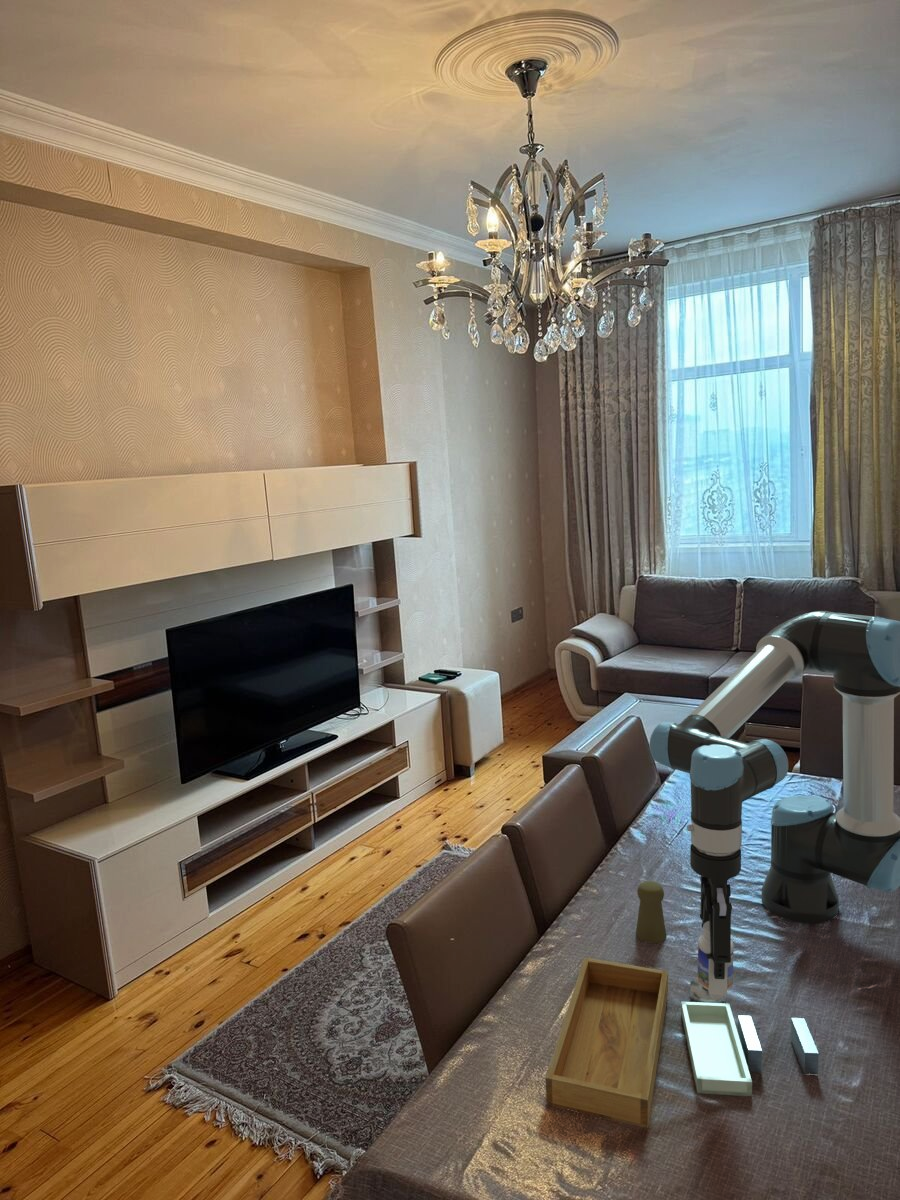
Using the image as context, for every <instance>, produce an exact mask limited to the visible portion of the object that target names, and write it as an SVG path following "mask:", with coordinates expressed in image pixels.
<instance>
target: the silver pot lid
mask: <svg viewBox="0 0 900 1200" xmlns="http://www.w3.org/2000/svg"><path fill="white" fill-rule="evenodd" d="M689 998H690V999H691V1002H702V1003H725V1002H726V995H709V992H708V990H707V989H705V988H704V987H702V986H701V985H700V983H699V981H698V976H697V977H695V978H693V979H692V980H690V983H689Z"/></svg>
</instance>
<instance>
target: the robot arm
mask: <svg viewBox="0 0 900 1200" xmlns="http://www.w3.org/2000/svg"><path fill="white" fill-rule="evenodd" d="M755 649H756V650H755V652H754V653H753V654H752V655H751V656H750V657H748V658H747V659H746V661H744V663H742V665H740V666H739V667H738V668H737V669H736V670H735V671H734V672H733V673H732V674H731V675H730V676H729V677H728V678H727V679H725V680H724V681H723V682H722V683H721V684H720V685H719V686H718V687H717V688H716V689H715V690H714V691H713V692H712V693H710V695H709V696H708V697H706V699H705V700H703V701H702V702H701V703H700V704H699V705H698V706H697V707H696V708H695V709H694V710H692V712H691V713H689V714H688V715H687V717H686V718H684V719H683V720H682V721H681V722H680V723H678V724H677V723H676V722H674V721H673V722H668V721H667V722H666V721H664V722H661V723H659V724H658V725H656V726H655V728H654V729H653V731H652V733H651V736H650V737H649V738H650V739H649V745H648V747H649V751H650V755H651V758H652V759H653V761H655V762H656V763H658V764H660V765H663V766H664V767H667V768H670V769H671V770H673V771H674V770H675V771H680V772H683V773H687V774H689V780H690V808H691V809H690V823H691V824H687V825H686V830H687V831H688V832H690V842H691V844H690V849H689V850H690V851H689V852H690V855H689V857H690V858H689V859H690V860H689V861H690V863H689V864H690V867H691V869H692V870H693V872H694V873H696V874H698V876H699V877H700V879H699V880H700V910H699V911H700V913H699V918H700V921H701V920H702V923H701V928H702V929H703V925H704V923H705V922H707V921H709V925H710V951H711V952H710V954H709V953H706V959H709V985H708V992H709V995H725V996H728V990H727V971H728V963H730V962H731V940H732V938H731V936H732V934H731V931H732V925H731V924H732V910H733V906H732V902H730V897H731V893H732V892H731V891H732V889H731V884H729V883H728V881H729V880H730V879H733V878H735V877H737V876H738V875H739V874H740V873H741V870H742V850H741V847H742V845H743V843H742V842H743V841H742V840H743V839H742V838H743V821H742V814H743V813H742V810H743V802H746V801H748V800H749V799H751V798H753V797H755V796H756V795H759V794H760V793H763V792H765V791H767V790H771V789H773V788H774V786H776V785H778V783H780V782H782V781H783V780H784V779H785V778H786V777H787V774H788V773H789V771H788V770H789V759H788V756H787V754H786V752H785V751H784V749H783V748H782V747H781V746H780V745H779V744H778V743H777V742H775V741H773V740H770V739H767V738H762V739H755V740H751V741H749V742H745V741H741V740H736V739H733V738H731V737H732V736H733V735H734V734H735V733H736V732H737V730H739V729H740V728H741V726H743V724H745V722H747V721H748V720H749V719H750V718H751V717H752V715H754V714H755V712H757V711H758V709H760V708H761V706H762V705H763V704H765V703H766V702H767V700H769V698H770V697H772V695H774V694H775V693H776V692H777V690H779V689H780V688H781V687H782V685H784V683H785V682H787V680H794V679H797V678H798V677H799V676H801V674H802V673H804V672H808V671H816V672H822V673H827V674H831V675H833V688H834V690H835V691H836V692H838V693H839V694H840V695H841V696H842V751H843V752H842V753H843V754H842V756H843V757H842V759H843V761H842V762H843V763H842V764H843V765H842V766H843V768H842V769H843V770H842V773H843V774H842V775H843V777H842V778H843V779H842V780H843V782H842V783H843V785H842V786H843V807H842V808H840V809H839V810H838V811H836V812H834V811H835V807H834V805H833V803H832V802H831V801H829V800H828V798H827V799H826V798H824V797H820V796H815V795H791V796H786V797H785V798H781V799H779V800H778V801H776V802H775V804H773V806H772V810H771V819H770V824H771V825H770V827H771V828H770V829H771V830H770V832H771V833H770V834H771V836H770V867H769V870H768V872H767V874H766V877H765V879H764V882H763V884H762V887H761V895H760V896H761V903H762V904H763V907H765V909H767V911H768V912H771V913H772V914H773V915H775V916H777V917H779V918H782V919H784V920H788V921H791V922H795V923H802V924H820V923H821V924H822V922H823V923H826V922H825V921H827V922H829V921H828V920H830V919H832V918H833V919H835V918H836V917H837V916H838V914H839V912H838V911H840V910H839V909H840V898H839V895H838V892H837V890H836V886H835V884H834V880H833V876H832V874H833V875H835V876H838V877H841V878H843V879H845V880H846V879H847V880H849V881H852V882H855V883H858V884H860V885H863V886H865V887H866V888H868V889H873V890H876V891H880V892H883V893H891V892H895V891H896V890H897V889H898V888H899V887H900V816H898V815H897V814H896V813H895V812H894V771H895V770H894V769H895V768H894V765H895V764H894V760H895V759H894V755H895V754H894V752H895V751H894V748H895V747H894V746H895V745H894V744H895V743H894V741H895V740H894V739H895V738H894V734H895V733H894V732H895V729H894V727H895V726H894V725H895V721H894V720H895V719H894V718H895V709H894V708H895V707H894V706H895V698H896V697H897V696H899V695H900V620H895V619H889V618H886V617H883V616H873V615H871V616H870V615H862V614H852V613H843V612H835V611H834V612H833V611H831V610H830V611H828V610H817V611H811V612H806V613H803V614H799V615H797V616H794V617H792V618H790V619H788V620H786V621H784V622H783V623H780V624H779V625H777V626H776V627H773V628H772V629H771V630H770V631H769V632H768V633H766V634H765V635H764V636H763V637H762V638H760V640H759V641H758V642H757V644H756V648H755ZM836 915H837V916H836ZM835 916H836V917H835ZM834 917H835V918H834ZM833 919H832V920H833ZM830 921H831V920H830ZM701 932H702V934H703V930H702V931H701ZM702 934H701V935H702Z"/></svg>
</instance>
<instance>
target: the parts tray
mask: <svg viewBox="0 0 900 1200" xmlns="http://www.w3.org/2000/svg"><path fill="white" fill-rule="evenodd" d="M680 1002H681V1007H680V1008H681V1010H680V1011H681V1019H682V1024H683V1029H684V1034H685V1035H684V1036H685V1039H686V1043H687V1044H686V1045H687V1048H688V1055H689V1059H690V1064H691V1070H692V1073H693V1075H692V1076H693V1078H694V1084H695V1088H696V1093H697V1094H701V1095H702V1094H703V1095H704V1094H706V1095H720V1096H721V1095H722V1096H738V1097H739V1096H740V1097H753V1080H752V1078H751V1074H750V1073H751V1072H749V1070H748V1066H747V1063H746V1059H745V1056H744V1053H743V1049H742V1046H741V1042H740V1039H739V1035H738V1028H737V1026H736V1022H735V1018H734V1016H733V1015H734V1014H733V1012H732V1009H731V1005H730V1003H702V1002H693V1001H680Z"/></svg>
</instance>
